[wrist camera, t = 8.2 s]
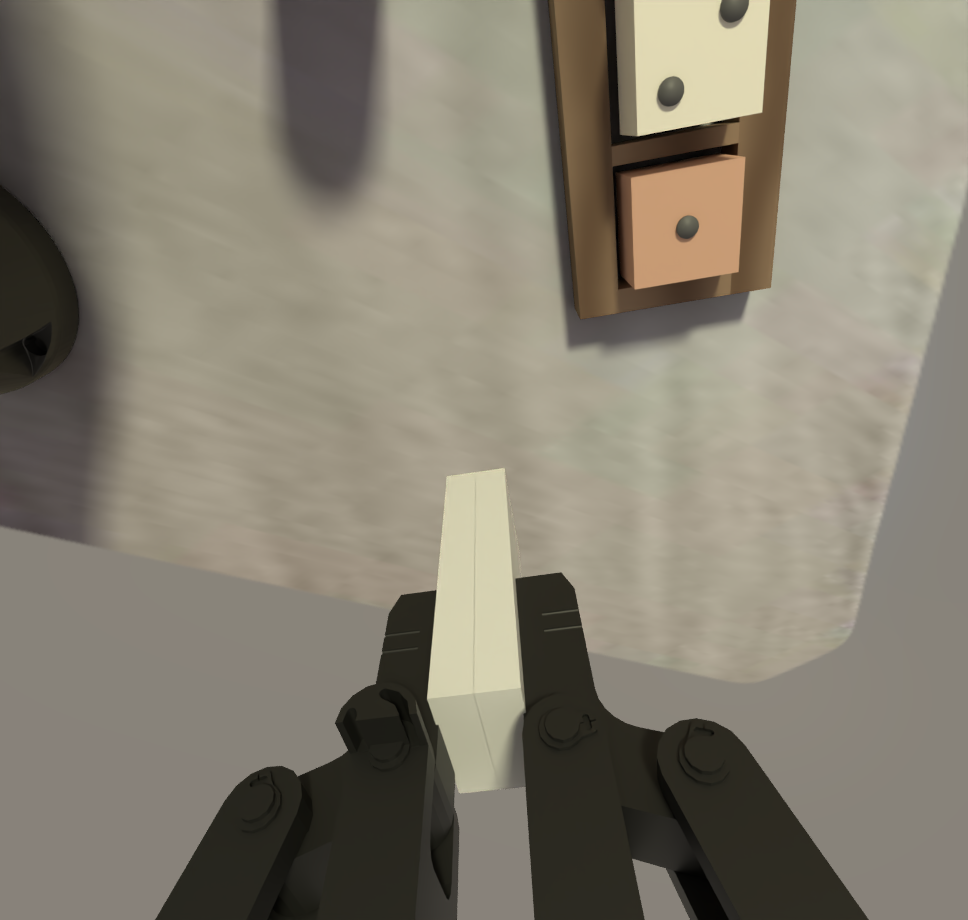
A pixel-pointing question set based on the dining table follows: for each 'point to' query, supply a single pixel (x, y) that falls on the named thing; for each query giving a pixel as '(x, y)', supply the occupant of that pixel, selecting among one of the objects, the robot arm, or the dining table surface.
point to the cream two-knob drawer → (689, 62)
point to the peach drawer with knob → (680, 220)
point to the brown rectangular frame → (593, 156)
